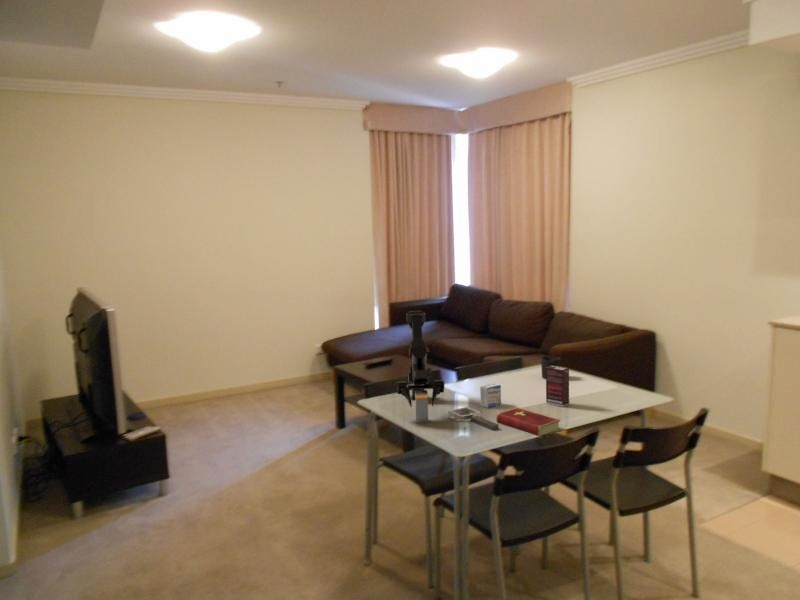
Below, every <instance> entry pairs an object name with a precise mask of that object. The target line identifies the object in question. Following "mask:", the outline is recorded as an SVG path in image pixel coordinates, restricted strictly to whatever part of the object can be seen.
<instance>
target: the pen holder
mask: <svg viewBox="0 0 800 600" xmlns="http://www.w3.org/2000/svg"><path fill="white" fill-rule="evenodd" d="M540 359H541V360H540V361H541V362H540V363H541V378H542V379H544V380H546V367H548V366H558V367H562V366H561V365H562V364H561V362H562V357H559V356H555V357H550V356H546V355H545V356H542V357H540Z"/></svg>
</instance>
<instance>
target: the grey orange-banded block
mask: <svg viewBox="0 0 800 600" xmlns="http://www.w3.org/2000/svg"><path fill="white" fill-rule="evenodd" d="M428 399H429V395H428V389H425V390H415V399H414V400H415V422H416V424H417V423H419V424H429V401H428Z"/></svg>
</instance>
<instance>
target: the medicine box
mask: <svg viewBox="0 0 800 600" xmlns="http://www.w3.org/2000/svg"><path fill="white" fill-rule="evenodd" d="M479 387H480V389H479V391H480V394H479V395H480V406H481V407H483V406H484V408H486V407H487V409H490V408H493V406H494V407H497V406H500V404H501V405H502V387H501V385H500V384H498V383H490V384H486V385H481V386H479ZM496 405H497V406H496ZM489 407H490V408H489Z"/></svg>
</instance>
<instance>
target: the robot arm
mask: <svg viewBox="0 0 800 600" xmlns="http://www.w3.org/2000/svg"><path fill="white" fill-rule="evenodd" d="M406 322H407V326H408V327H409V328H410V330H411V339H412V340H411V342H410V347H409V348H408V351H409V354H408V355H409V357H411V361H412V362H411V366H410V368H409V372H408V381H405V380H404V381H398V382H397V383H396V386H397V387H396V388H397V389H396V390H397V391H396V393H397V394H398V395H401V396H402V397H403V396H404V398H405V399H406V400H407V403H408V404H409V406H410V408H412V405H413V404H412V400H415V390H432V397H431V398H432V399H431V407H434V405H435V401H436V398H437V396H438V395H440V394H441V393H444V392H445V381H444V380H443V379H436V380H435V379H434V380H433V383H430V378H431V377H432V368H431V367H430V368H427V357H429V355H430V349H429V348H428V347H427V345H426V341H425V340H424V339H423V331H422V329H423V327H424V325H425V322H426V313H425V312H423V310H408V313H406ZM410 391H411V393H410Z"/></svg>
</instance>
